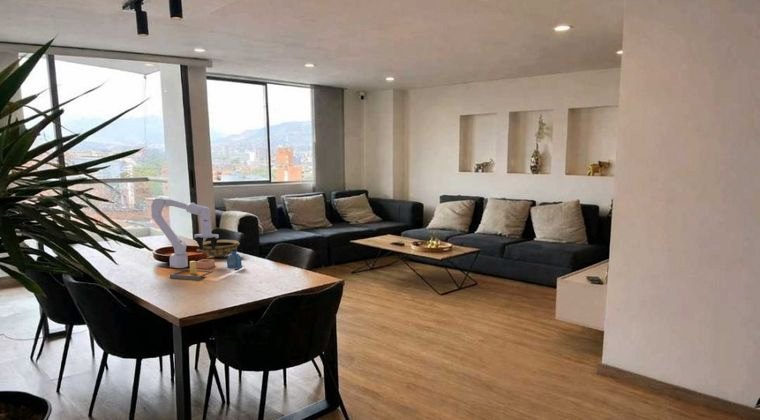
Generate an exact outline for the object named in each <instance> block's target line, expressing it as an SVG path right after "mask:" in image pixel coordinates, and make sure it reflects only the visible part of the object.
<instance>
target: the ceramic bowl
mask: <svg viewBox="0 0 760 420" xmlns="http://www.w3.org/2000/svg"><path fill="white" fill-rule="evenodd" d="M238 246H240V242H239V241H238V240H234V239H218V240H217V242H216V246H215V250H212V246H211V241H210V240H207V241H203V250H200V248H198V249H196V252H202V254H204V253H206V254H208V255H209V257H213V260H223V259H226V258H227V256H229V255H231V249H232V248H236V249H237V250H238ZM206 254H205V255H206ZM208 255H207V256H208Z"/></svg>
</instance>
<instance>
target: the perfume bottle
mask: <svg viewBox="0 0 760 420" xmlns="http://www.w3.org/2000/svg"><path fill="white" fill-rule="evenodd" d="M242 263H243V262H242V257H241V255H240V254H239V253H238V248H237V249H236V248H232V249H231V254H229V255H228V257H227V259H226V266H227V268H230V269H231V268H232V269H233V268H234V271H239V270H240V269H241V270H242V269H243V266H242Z"/></svg>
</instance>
